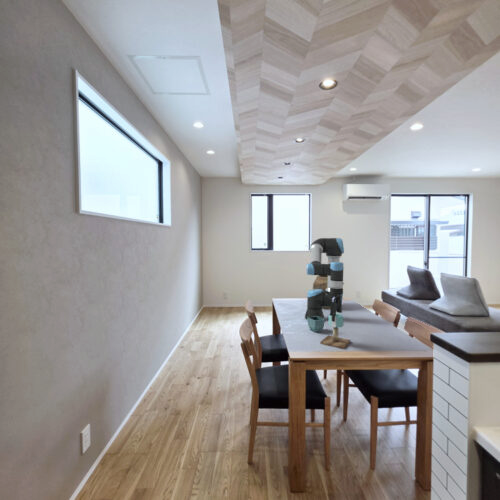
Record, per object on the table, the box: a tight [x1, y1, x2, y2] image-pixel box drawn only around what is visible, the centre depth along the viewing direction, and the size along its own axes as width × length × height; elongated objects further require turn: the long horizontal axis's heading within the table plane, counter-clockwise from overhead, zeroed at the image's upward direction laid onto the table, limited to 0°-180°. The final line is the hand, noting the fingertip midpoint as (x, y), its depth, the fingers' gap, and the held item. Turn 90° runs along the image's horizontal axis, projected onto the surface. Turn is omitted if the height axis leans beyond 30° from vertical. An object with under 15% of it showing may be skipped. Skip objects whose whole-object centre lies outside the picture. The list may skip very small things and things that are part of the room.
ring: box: [328, 313, 345, 328], centre depth 164 cm, size 8×8×6 cm
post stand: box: [320, 327, 351, 350], centre depth 164 cm, size 14×14×9 cm
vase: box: [312, 275, 331, 310], centre depth 251 cm, size 26×26×30 cm
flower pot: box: [306, 316, 326, 333], centre depth 186 cm, size 9×9×9 cm
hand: (335, 324), depth 164 cm, fingers closed on ring, 8 cm apart
